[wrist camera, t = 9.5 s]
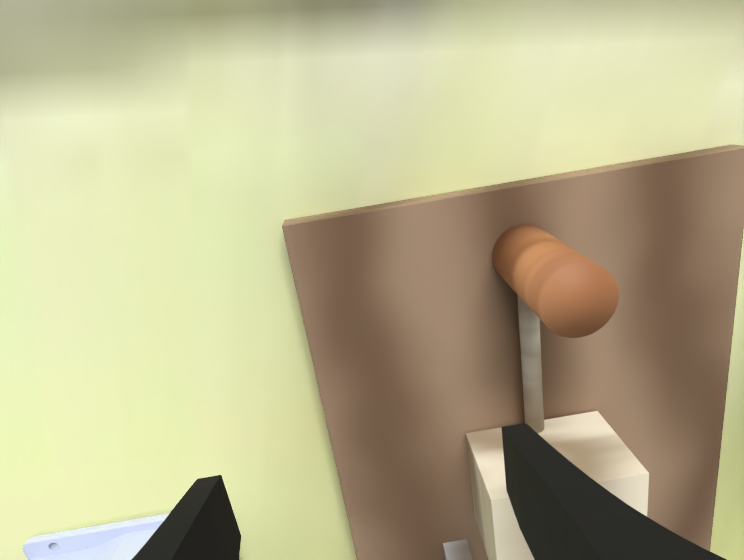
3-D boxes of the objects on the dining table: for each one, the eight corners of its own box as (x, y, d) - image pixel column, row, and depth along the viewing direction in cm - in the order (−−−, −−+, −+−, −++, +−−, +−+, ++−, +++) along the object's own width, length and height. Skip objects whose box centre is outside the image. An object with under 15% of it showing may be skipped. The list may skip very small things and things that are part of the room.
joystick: (475, 518, 24) (507, 619, 19) (443, 237, 19) (477, 281, 15) (597, 497, 24) (659, 592, 20) (597, 211, 19) (680, 247, 15)
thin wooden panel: (405, 763, 32) (411, 815, 30) (284, 220, 20) (277, 236, 17) (680, 715, 32) (707, 763, 30) (732, 144, 20) (785, 150, 18)
